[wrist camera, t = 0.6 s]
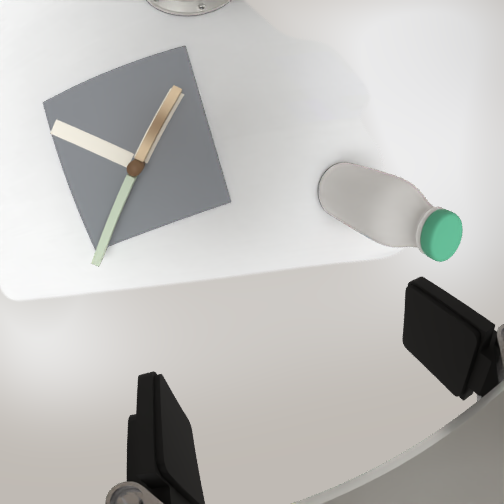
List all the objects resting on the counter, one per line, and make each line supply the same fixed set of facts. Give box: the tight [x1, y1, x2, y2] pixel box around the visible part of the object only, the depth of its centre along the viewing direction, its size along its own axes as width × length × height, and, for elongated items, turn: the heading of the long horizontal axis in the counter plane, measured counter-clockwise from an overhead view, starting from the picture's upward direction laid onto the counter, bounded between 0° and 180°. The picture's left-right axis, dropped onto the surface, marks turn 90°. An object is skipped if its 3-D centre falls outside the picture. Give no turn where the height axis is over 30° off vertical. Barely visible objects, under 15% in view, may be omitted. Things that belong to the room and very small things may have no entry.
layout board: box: [43, 46, 231, 250], centre depth 33 cm, size 20×18×1 cm
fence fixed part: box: [127, 85, 182, 176], centre depth 31 cm, size 10×2×5 cm, turn 150°
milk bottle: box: [318, 163, 462, 262], centre depth 32 cm, size 8×8×20 cm
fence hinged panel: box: [91, 174, 138, 267], centre depth 33 cm, size 11×1×3 cm, turn 150°
